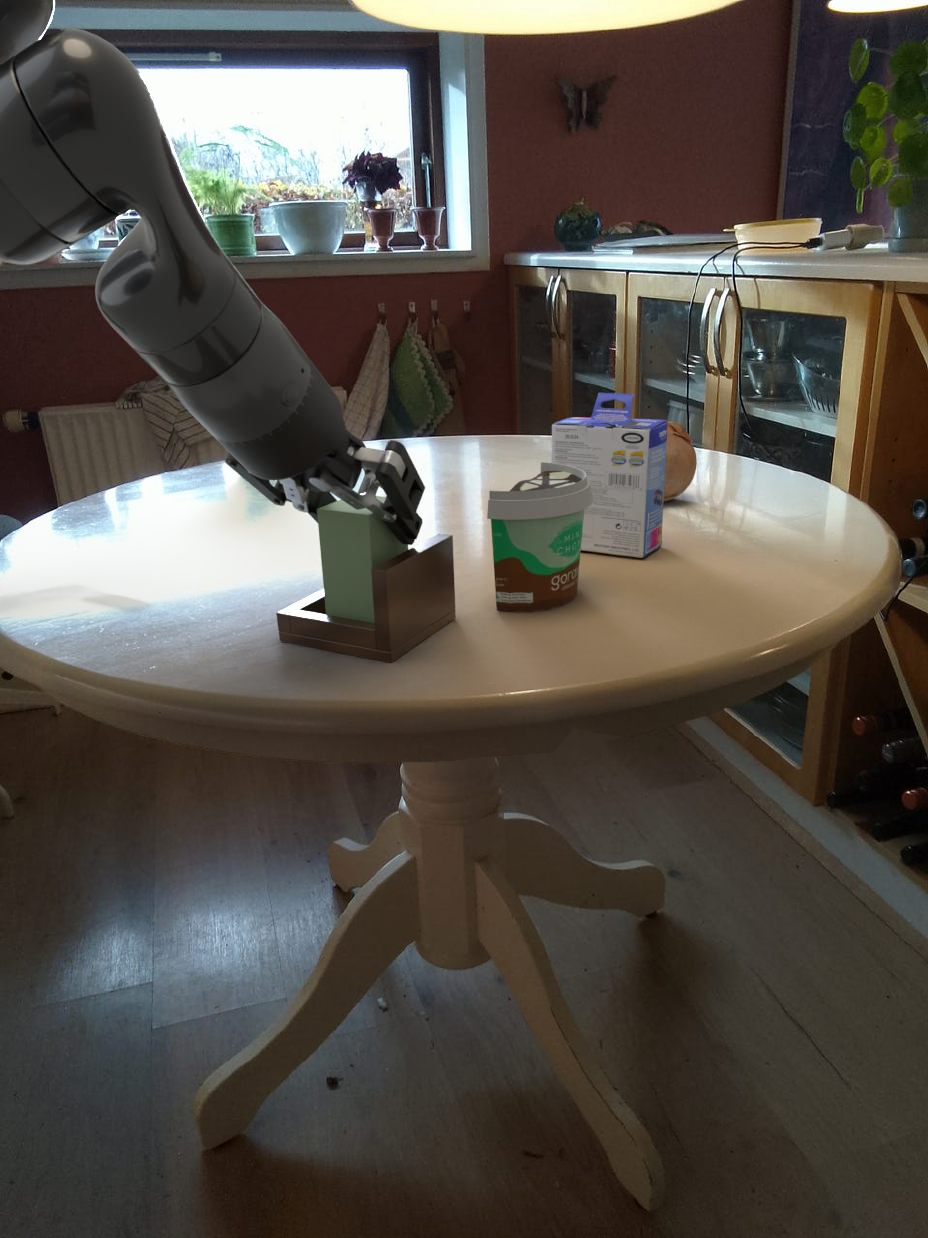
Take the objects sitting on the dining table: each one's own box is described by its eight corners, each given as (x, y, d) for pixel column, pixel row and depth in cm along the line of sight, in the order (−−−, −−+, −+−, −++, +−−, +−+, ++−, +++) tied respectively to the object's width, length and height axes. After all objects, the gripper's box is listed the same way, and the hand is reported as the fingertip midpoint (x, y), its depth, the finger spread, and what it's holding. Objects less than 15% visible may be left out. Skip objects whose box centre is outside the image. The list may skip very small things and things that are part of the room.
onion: (681, 521, 106) (724, 445, 103) (652, 518, 98) (698, 435, 95) (617, 484, 110) (656, 409, 107) (584, 478, 102) (626, 397, 99)
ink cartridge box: (664, 545, 87) (672, 393, 82) (646, 560, 83) (653, 401, 77) (570, 534, 92) (572, 389, 86) (548, 548, 87) (548, 397, 82)
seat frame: (279, 641, 67) (269, 554, 65) (351, 601, 75) (345, 522, 72) (391, 663, 63) (385, 571, 60) (456, 618, 70) (452, 535, 68)
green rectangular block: (326, 624, 67) (316, 508, 64) (363, 603, 71) (355, 493, 68) (376, 634, 65) (368, 514, 62) (411, 611, 69) (406, 498, 66)
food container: (563, 626, 68) (564, 498, 64) (489, 616, 70) (486, 492, 67) (609, 577, 78) (612, 464, 75) (543, 570, 81) (543, 460, 77)
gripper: (375, 338, 51) (475, 495, 65) (189, 337, 58) (316, 480, 72) (328, 446, 49) (442, 585, 63) (140, 433, 55) (281, 561, 70)
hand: (375, 529), depth 67 cm, fingers open, 6 cm apart
